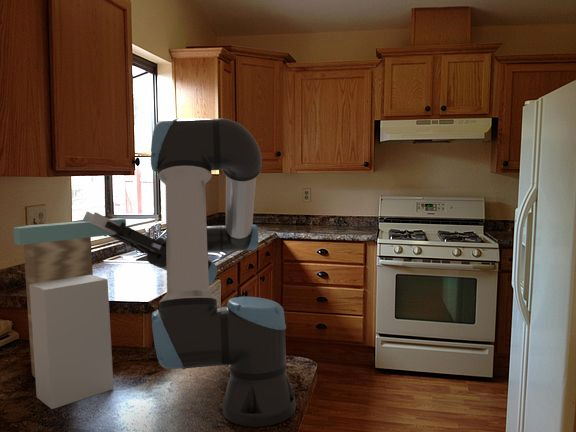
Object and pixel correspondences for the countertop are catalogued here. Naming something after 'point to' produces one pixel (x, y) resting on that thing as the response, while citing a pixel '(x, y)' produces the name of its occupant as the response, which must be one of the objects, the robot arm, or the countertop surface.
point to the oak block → (55, 267)
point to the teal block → (59, 232)
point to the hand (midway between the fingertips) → (89, 217)
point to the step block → (71, 339)
